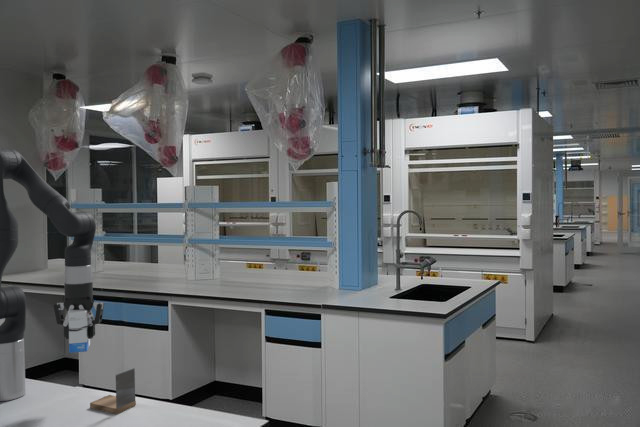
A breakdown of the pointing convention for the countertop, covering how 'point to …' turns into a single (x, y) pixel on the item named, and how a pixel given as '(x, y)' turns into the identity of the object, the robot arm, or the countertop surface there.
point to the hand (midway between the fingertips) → (79, 338)
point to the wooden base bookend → (119, 395)
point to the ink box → (78, 331)
